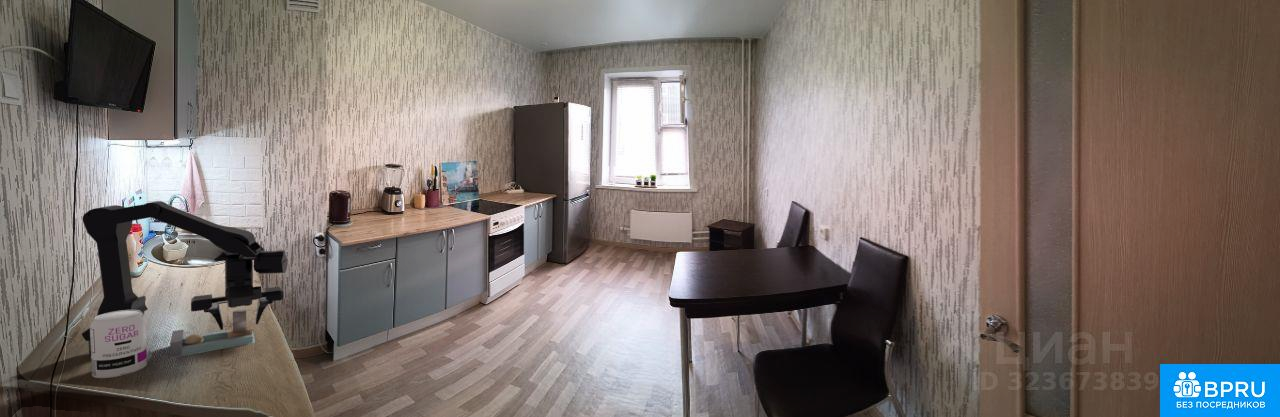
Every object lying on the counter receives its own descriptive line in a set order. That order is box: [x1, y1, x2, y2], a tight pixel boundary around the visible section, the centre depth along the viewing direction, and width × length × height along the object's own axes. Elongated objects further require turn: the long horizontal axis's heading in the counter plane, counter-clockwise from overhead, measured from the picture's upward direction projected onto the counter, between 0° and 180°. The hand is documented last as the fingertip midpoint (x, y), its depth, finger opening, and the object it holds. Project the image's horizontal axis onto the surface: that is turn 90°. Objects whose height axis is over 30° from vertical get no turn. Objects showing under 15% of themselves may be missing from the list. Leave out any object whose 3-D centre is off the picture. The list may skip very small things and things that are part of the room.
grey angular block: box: [169, 329, 185, 358], centre depth 109 cm, size 2×9×4 cm, turn 47°
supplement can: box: [89, 310, 148, 379], centre depth 98 cm, size 8×8×15 cm
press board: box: [170, 329, 256, 359], centre depth 114 cm, size 16×10×3 cm, turn 137°
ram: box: [226, 309, 253, 339], centre depth 117 cm, size 5×5×8 cm
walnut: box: [184, 333, 203, 346], centre depth 111 cm, size 4×4×4 cm
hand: (239, 326), depth 117 cm, fingers open, 7 cm apart
